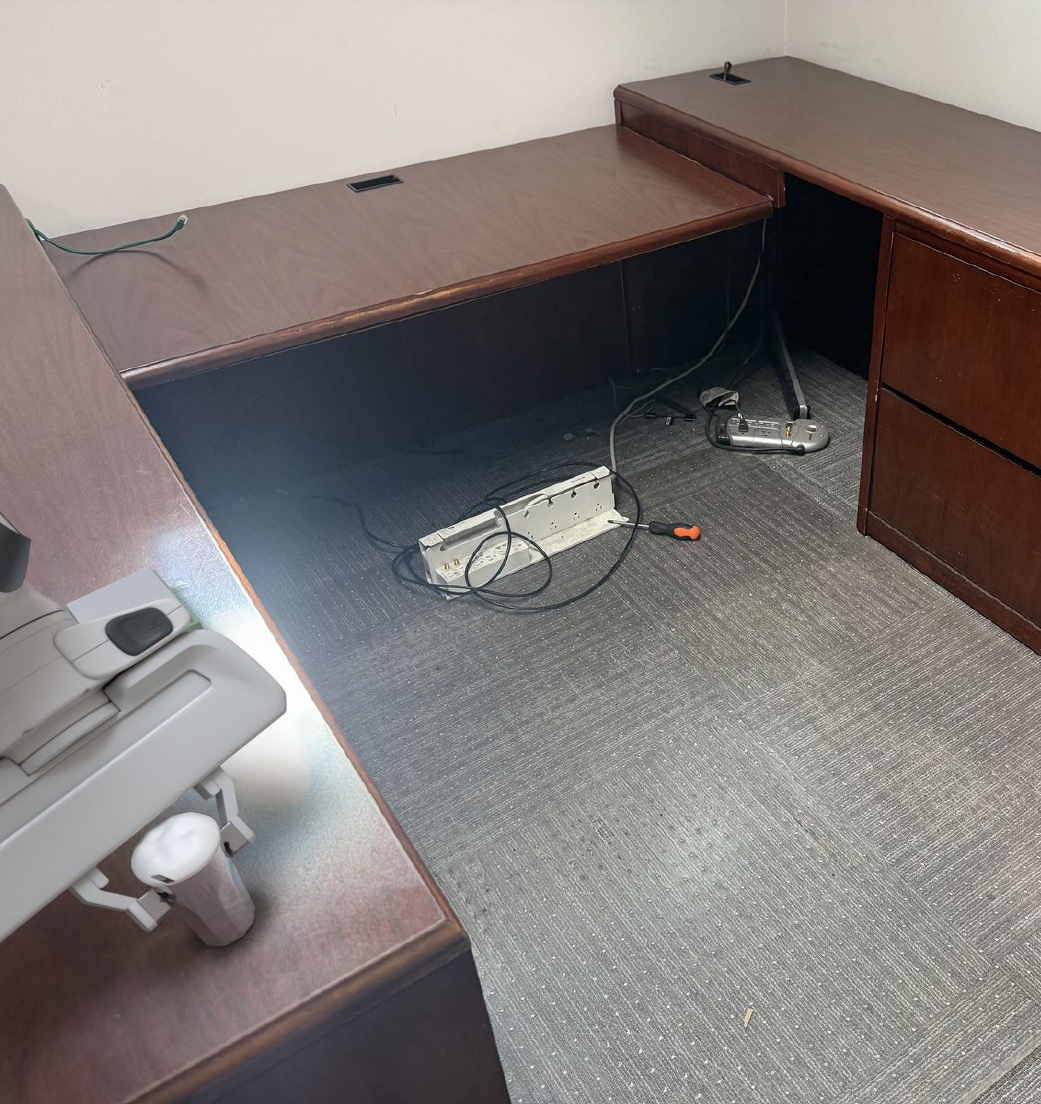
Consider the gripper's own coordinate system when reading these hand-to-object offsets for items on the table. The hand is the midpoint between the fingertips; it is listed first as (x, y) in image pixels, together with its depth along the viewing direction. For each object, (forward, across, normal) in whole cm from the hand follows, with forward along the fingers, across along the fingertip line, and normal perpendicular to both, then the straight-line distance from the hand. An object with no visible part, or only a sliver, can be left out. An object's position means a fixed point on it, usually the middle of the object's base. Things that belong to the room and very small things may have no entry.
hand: (204, 883), depth 58 cm
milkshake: (+3, 0, +4) cm, 5 cm away
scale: (-16, +12, +23) cm, 31 cm away
